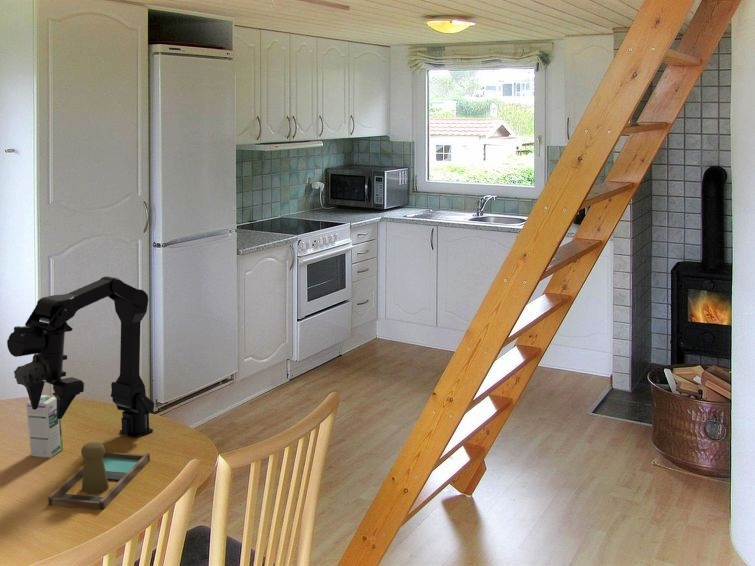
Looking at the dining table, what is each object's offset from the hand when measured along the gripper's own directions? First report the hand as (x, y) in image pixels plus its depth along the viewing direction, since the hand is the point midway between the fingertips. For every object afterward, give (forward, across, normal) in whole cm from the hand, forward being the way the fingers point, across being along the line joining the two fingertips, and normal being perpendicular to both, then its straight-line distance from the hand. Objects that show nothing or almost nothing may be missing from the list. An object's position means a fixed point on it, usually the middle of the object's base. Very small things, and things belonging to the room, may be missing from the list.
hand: (47, 413), depth 216 cm
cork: (+14, +18, +1) cm, 23 cm away
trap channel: (+13, +16, +4) cm, 21 cm away
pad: (+12, +13, +12) cm, 21 cm away
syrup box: (+14, -8, +7) cm, 18 cm away
